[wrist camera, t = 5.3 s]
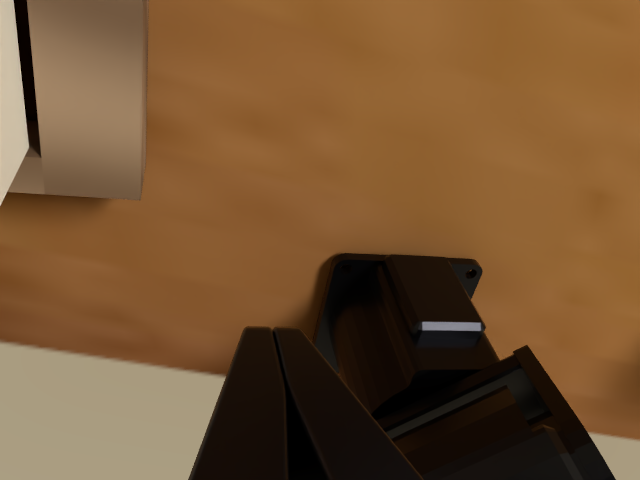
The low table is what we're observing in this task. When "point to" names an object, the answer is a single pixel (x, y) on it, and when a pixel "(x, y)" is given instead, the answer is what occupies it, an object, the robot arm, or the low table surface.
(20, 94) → the cream cube
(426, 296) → the robot arm
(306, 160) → the low table surface
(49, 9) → the walnut board
